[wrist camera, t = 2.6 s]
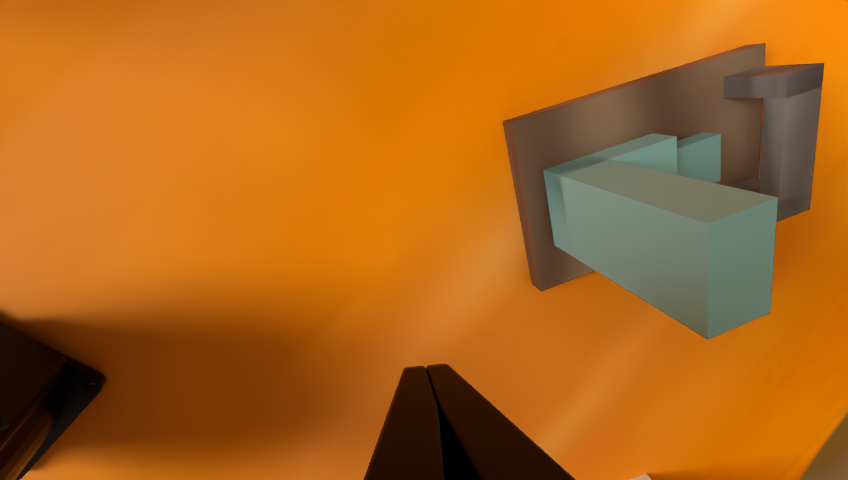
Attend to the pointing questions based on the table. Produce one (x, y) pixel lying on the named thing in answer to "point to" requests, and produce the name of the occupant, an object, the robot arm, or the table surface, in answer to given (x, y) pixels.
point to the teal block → (669, 228)
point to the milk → (642, 477)
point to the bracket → (676, 116)
